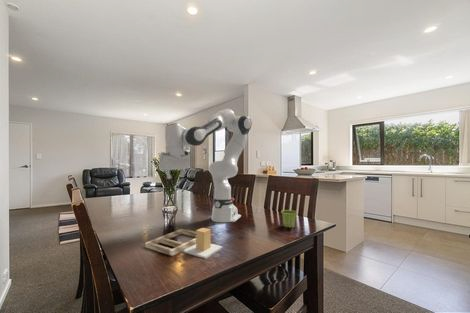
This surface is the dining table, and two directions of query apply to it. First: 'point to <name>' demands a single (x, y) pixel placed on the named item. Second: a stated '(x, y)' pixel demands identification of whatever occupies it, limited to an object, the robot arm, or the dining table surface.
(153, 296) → the dining table surface
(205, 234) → the ochre block
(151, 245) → the puzzle board
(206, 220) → the dining table surface
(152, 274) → the dining table surface
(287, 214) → the plant pot
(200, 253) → the white square plate
